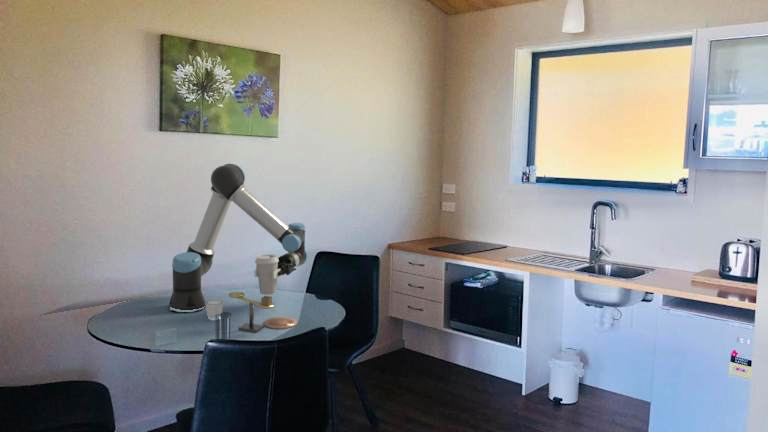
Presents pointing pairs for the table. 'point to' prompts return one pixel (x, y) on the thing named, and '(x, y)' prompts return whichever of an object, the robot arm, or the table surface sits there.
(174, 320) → the table surface
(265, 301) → the balance
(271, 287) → the coffee cup
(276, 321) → the dish
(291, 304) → the table surface
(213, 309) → the shot glass
